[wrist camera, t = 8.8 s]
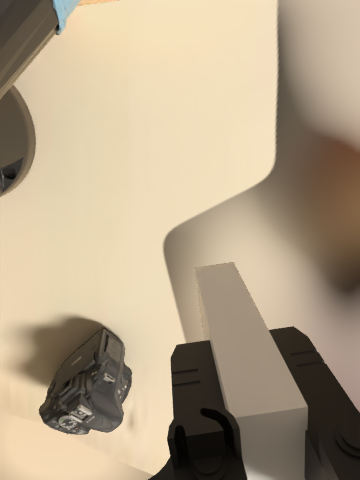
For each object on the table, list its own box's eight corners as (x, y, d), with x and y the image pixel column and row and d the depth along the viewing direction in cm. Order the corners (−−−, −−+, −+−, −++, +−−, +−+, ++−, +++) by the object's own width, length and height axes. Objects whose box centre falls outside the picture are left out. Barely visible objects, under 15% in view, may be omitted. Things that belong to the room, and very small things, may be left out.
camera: (113, 403, 49) (103, 470, 40) (48, 386, 47) (22, 452, 38) (145, 335, 45) (142, 393, 36) (76, 314, 43) (53, 368, 34)
